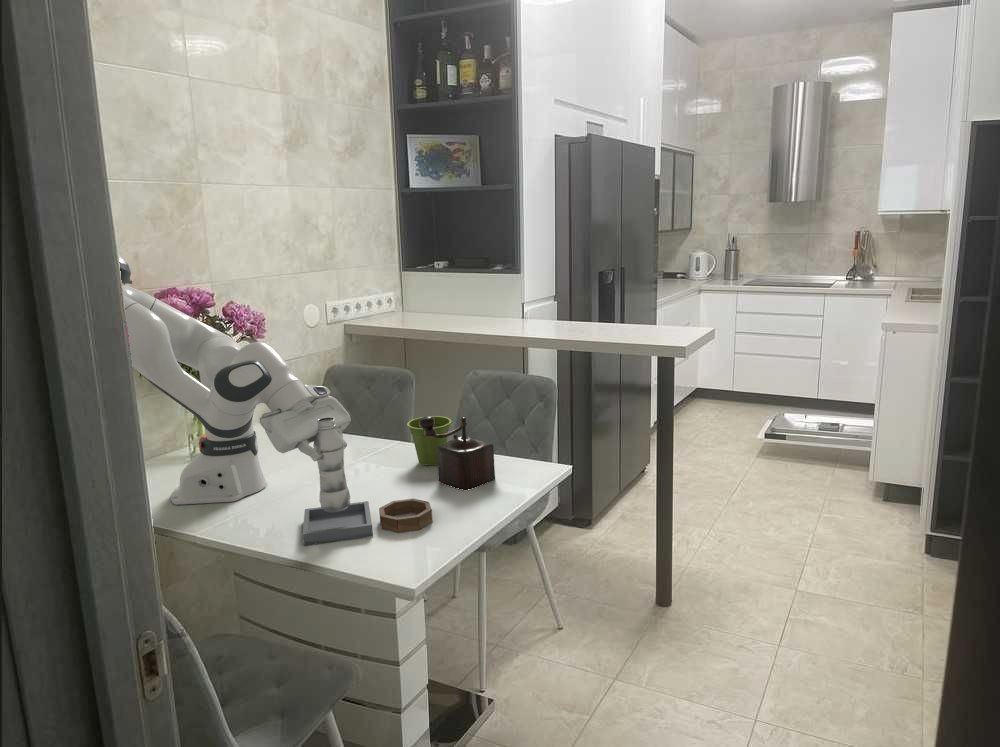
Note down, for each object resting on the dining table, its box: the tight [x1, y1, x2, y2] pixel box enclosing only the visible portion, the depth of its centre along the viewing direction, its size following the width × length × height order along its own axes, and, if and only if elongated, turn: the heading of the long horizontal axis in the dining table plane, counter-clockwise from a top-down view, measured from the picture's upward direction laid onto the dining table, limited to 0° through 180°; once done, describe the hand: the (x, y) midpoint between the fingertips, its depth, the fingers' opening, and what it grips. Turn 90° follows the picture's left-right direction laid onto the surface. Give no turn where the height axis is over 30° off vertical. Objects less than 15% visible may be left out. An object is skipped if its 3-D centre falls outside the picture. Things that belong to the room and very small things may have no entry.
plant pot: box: [406, 415, 452, 466], centre depth 200 cm, size 12×12×11 cm
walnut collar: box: [378, 498, 434, 534], centre depth 162 cm, size 11×11×3 cm
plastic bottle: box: [312, 417, 351, 512], centre depth 157 cm, size 6×7×20 cm
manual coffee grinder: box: [419, 415, 496, 491], centre depth 182 cm, size 16×11×18 cm
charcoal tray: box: [302, 500, 374, 547], centre depth 160 cm, size 14×14×3 cm
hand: (331, 453), depth 156 cm, fingers closed on plastic bottle, 6 cm apart
